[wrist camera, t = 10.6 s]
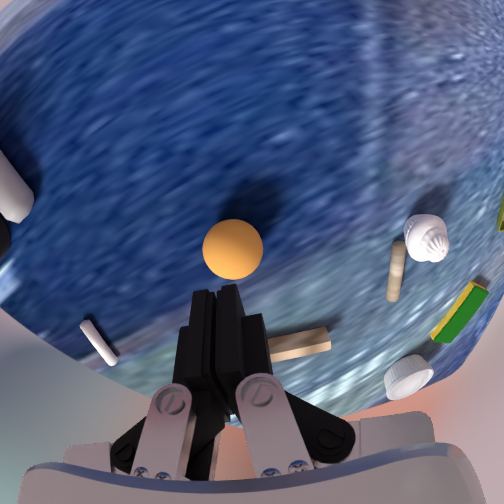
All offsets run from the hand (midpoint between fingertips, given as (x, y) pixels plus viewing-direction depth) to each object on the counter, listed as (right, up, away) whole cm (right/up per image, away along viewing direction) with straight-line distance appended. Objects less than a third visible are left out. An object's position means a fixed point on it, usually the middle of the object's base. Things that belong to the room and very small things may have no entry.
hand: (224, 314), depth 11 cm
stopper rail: (+3, -11, +29) cm, 31 cm away
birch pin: (+20, +3, +21) cm, 29 cm away
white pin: (-24, -8, +24) cm, 35 cm away
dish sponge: (+42, -9, +32) cm, 54 cm away
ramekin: (+34, -22, +39) cm, 56 cm away
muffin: (+22, +6, +21) cm, 31 cm away
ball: (-1, +3, +17) cm, 17 cm away
